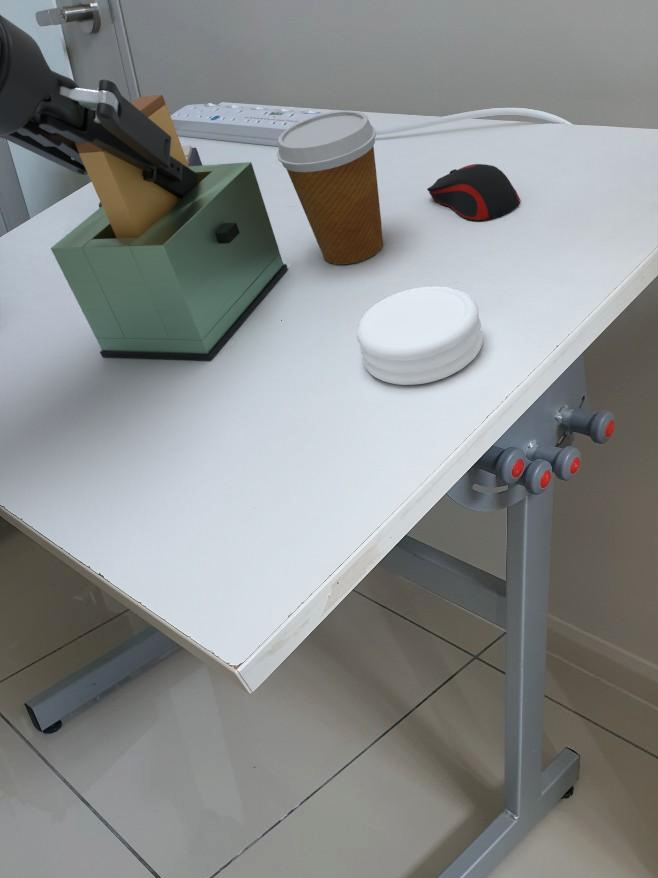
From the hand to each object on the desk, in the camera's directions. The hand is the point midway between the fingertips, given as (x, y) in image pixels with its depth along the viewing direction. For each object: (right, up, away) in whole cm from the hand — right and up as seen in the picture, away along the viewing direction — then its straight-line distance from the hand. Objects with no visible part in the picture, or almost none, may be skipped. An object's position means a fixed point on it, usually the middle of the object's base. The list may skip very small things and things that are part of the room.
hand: (178, 189), depth 81 cm
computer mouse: (+29, +3, +10) cm, 30 cm away
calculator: (-10, +10, +29) cm, 32 cm away
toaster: (+1, -10, +5) cm, 11 cm away
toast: (-1, -5, 0) cm, 5 cm away
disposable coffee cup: (+16, -3, +8) cm, 18 cm away
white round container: (+23, -17, -9) cm, 30 cm away
